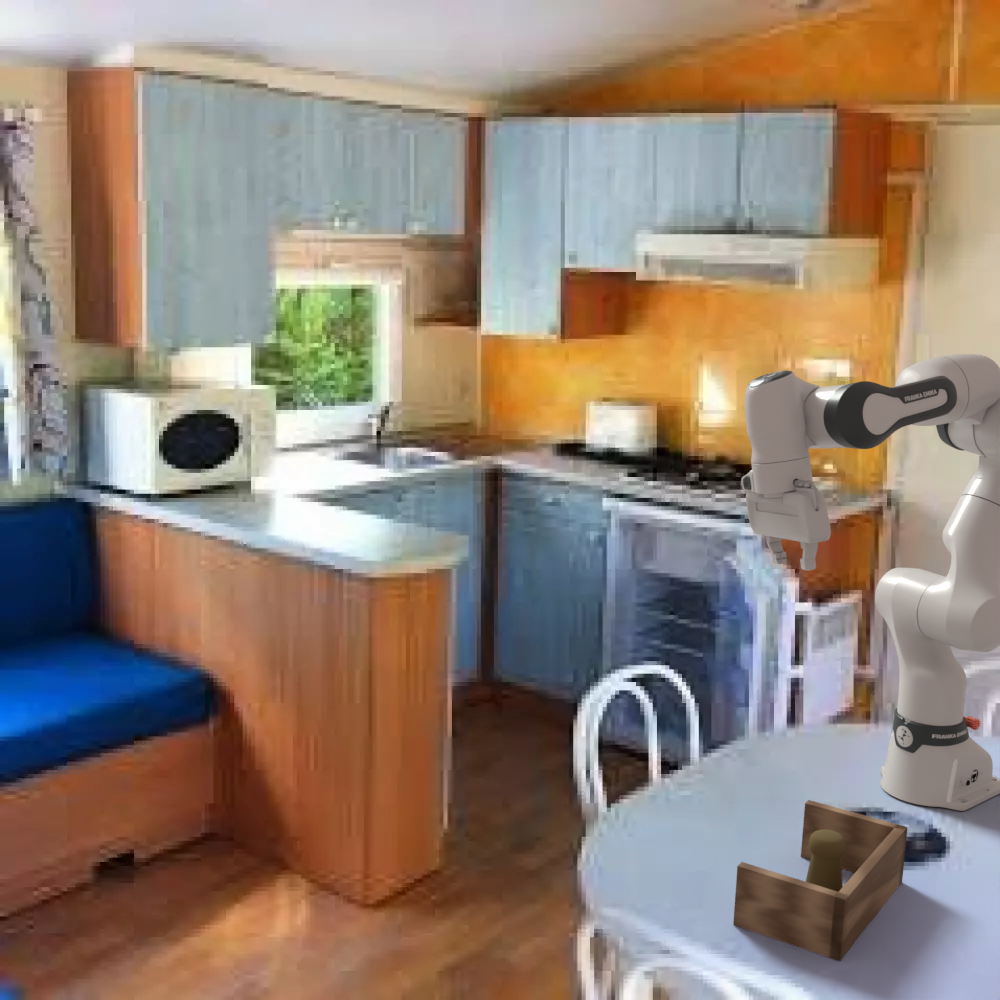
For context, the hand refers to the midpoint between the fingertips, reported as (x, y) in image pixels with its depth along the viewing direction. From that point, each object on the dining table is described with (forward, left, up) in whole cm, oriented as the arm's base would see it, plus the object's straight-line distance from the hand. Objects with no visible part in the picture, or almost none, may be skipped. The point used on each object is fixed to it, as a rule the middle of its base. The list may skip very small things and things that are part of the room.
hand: (794, 566), depth 199 cm
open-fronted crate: (+7, +19, -45) cm, 50 cm away
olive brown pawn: (+7, +19, -46) cm, 50 cm away
